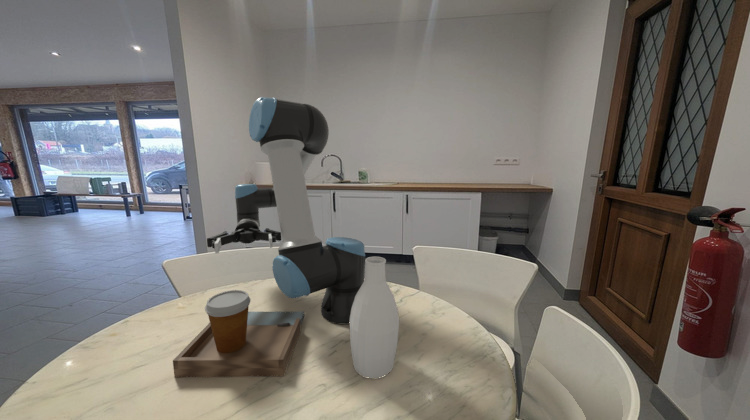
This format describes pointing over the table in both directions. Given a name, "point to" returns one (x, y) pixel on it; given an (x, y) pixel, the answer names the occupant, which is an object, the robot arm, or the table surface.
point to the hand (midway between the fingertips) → (244, 245)
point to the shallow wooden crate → (244, 349)
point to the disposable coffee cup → (229, 319)
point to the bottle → (374, 323)
